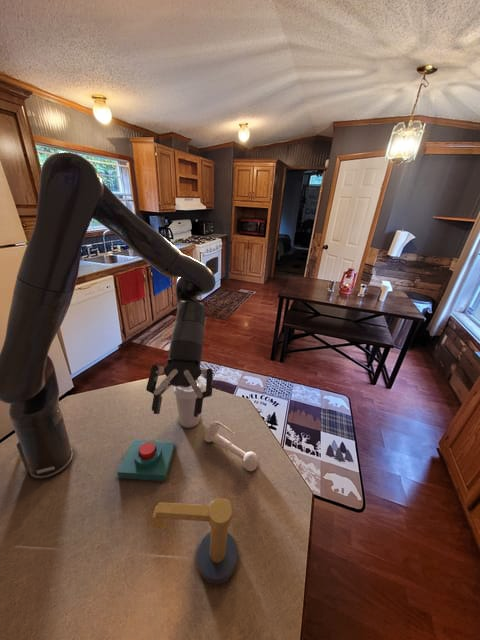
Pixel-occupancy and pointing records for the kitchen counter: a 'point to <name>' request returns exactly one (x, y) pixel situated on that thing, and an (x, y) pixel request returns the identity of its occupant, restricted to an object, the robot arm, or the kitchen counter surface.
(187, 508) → the spout
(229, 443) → the faucet
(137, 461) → the control block
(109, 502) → the kitchen counter surface
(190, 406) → the coffee cup
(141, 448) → the button
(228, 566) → the tap base
